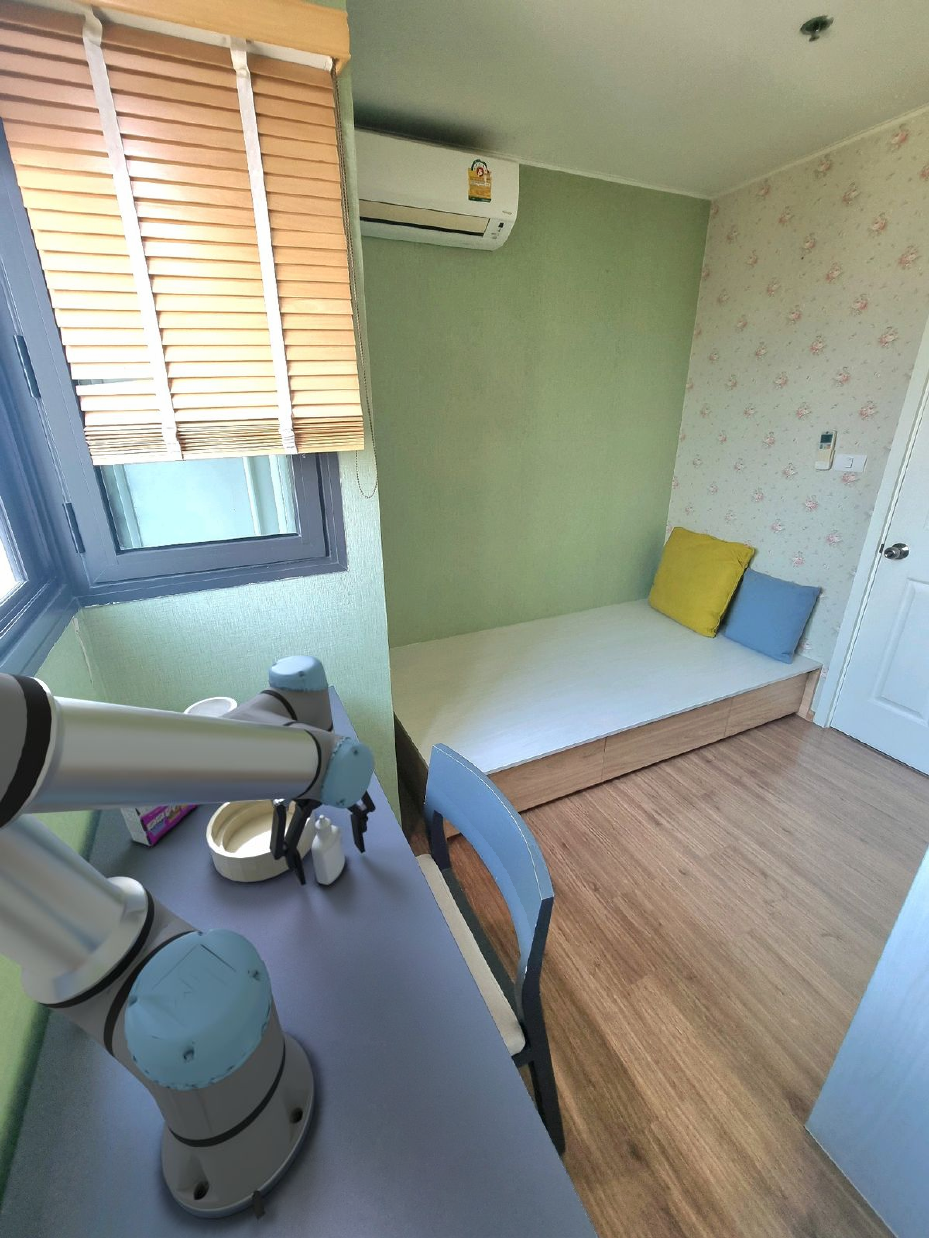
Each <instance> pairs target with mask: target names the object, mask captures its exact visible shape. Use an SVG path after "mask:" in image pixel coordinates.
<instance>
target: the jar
mask: <svg viewBox="0 0 929 1238" xmlns="http://www.w3.org/2000/svg"><path fill="white" fill-rule="evenodd" d="M236 707H238V704H237V701H236V700H235V699H233V698H231V697H226V696H216V697H209V698H206V699H203V700H200V701H197V702H195V703H193V704H192V705H190V706H189V707H187V708H186V709H185V710H184V712H183V713H188V714H196V715H203V716H211V717H219V716H222V715H224V714H226V713H227V712H229V711H231V710H232V709H234V708H236Z"/></svg>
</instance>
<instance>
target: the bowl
mask: <svg viewBox="0 0 929 1238" xmlns="http://www.w3.org/2000/svg"><path fill="white" fill-rule="evenodd" d="M295 804H296V802H294V801H292V802H291V803H290V804H289V811H287V812H286V814H287V821H286V829H285V835H286V832H287V829H288V827H289V824H290V822H291V819H292V816H293V814H294V811H295ZM273 812H274V808H273V805H272V803H271V800H265V801H248V802H230V803H222V805H221V806H220V807H219V808H218V809H217V810H216V811H215V812H214V814H213V815H212V816H211V818H210V820H209V822H208V824H207V826H206V833H205V838H206V842H207V845H208V848H209V852H210V855H211V858H212V862H213V864H214V867H215V870H216V871H217V872H218V873H219V874H220V875H221V876H222V877H224V878H227V879H229V880H231V881H233V882H241V883H249V882H250V883H252V882H260V881H264V880H268V879H271V878H274V877H276V876H278V875H280V874H282V873H284V872H286V871H288V870H289V868H288V866H287V864H286V860H285V857H281V858H280V859H279V860H275V859H274V857H273V855H272V853H271V851H270V848H269V847H270V838H271V829H272V821H273ZM316 822H317V820H316V814H315V809H314V810H313V811H312V813H311V816H310V818H308V819H307V822H306V824H305V827H304V829H303V832H302V835H301V837H300V840H299V843H298V845H297V849H298V851H299V853H300V856H301V860H302V859H303V858H304V857H305V856H306V855H307V853H308V852H309V851H310V850H311V849H312V844H313V841H314V838H315V836H316V835H317V833H316V827H315V824H316Z"/></svg>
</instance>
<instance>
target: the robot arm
mask: <svg viewBox="0 0 929 1238" xmlns="http://www.w3.org/2000/svg"><path fill="white" fill-rule="evenodd" d="M267 674H268V680H267V681H268V684H269V686H268V687H266V688H265V689H263V690H262V691H261V692H260V693H258V694H256V695H255V696H253V697H252V698H249V699H248V700H246V701H244V702H243V703H241V704H239V705H237V707H236V708H234V709H232V710H231V711H229V712H227V713H226V714H224V715H222V716H219V717H211V716H203V715H196V714H188V713H184V712H179V711H172V710H163V709H156V708H148V707H141V706H132V705H124V704H118V703H117V704H116V703H109V702H101V701H94V700H86V699H79V698H71V697H63V696H54V694H53V693H52V692H51V690H50V688H49V687H48V685H47V684H46V683H44V681H42V680H40V679H38V678H36V677H32V676H28V675H27V676H25V675H19V674H14V673H13V674H12V673H6V672H1V671H0V955H2V956H4V957H5V958H7V959H9V960H10V961H11V962H14V963H15V964H17V965H19V966H20V967H21V971H20V983H21V987H22V990H23V991H24V993H25V994H26V996H27V997H29V998H30V999H31V1000H33V1001H34V1002H36V1003H38V1004H39V1005H42V1006H43V1007H45V1008H47V1009H49V1010H51V1011H52V1012H55V1013H56V1014H58V1015H60V1016H62V1017H63V1018H65V1019H67V1020H69V1021H71V1022H72V1023H73V1024H75V1025H76V1026H78V1027H79V1028H80V1029H81V1030H83V1031H84V1032H85V1033H86V1034H87V1035H89V1036H90V1037H91V1038H92V1039H93V1040H94V1041H95V1042H96V1043H98V1045H100V1046H101V1047H102V1048H103V1049H104V1050H105V1051H107V1053H108V1054H109V1055H110V1056H112V1057H113V1058H114V1059H115V1060H116V1061H117V1062H119V1064H120V1065H122V1067H124V1068H125V1069H126V1070H127V1072H129V1073H130V1074H131V1075H133V1076H134V1078H136V1080H137V1081H139V1083H141V1084H142V1085H143V1086H144V1087H145V1089H147V1091H148V1092H149V1093H150V1094H151V1096H152V1098H153V1099H154V1101H155V1103H156V1105H157V1107H158V1109H159V1111H160V1113H161V1116H162V1118H163V1119H164V1125H163V1130H162V1131H163V1132H162V1140H161V1151H160V1152H161V1153H160V1155H161V1157H160V1158H161V1168H162V1173H163V1177H164V1181H165V1183H166V1185H167V1187H168V1189H169V1191H170V1193H171V1195H172V1197H173V1198H174V1200H175V1201H176V1203H177V1204H178V1205H179V1206H180V1207H181V1208H182V1209H183V1210H185V1211H186V1212H187V1213H189V1214H191V1215H193V1216H196V1217H199V1218H205V1219H219V1218H225V1217H228V1216H233V1215H235V1214H238V1213H240V1212H242V1211H244V1210H246V1209H248V1208H249V1207H251V1206H253V1208H254V1212H255V1216H256V1220H260V1219H262V1217H264V1216H265V1214H266V1211H265V1207H264V1202H263V1198H264V1197H265V1196H266V1195H267V1194H268V1193H269V1192H270V1191H271V1190H272V1189H273V1188H274V1187H275V1186H276V1185H277V1184H278V1183H279V1182H280V1181H281V1179H282V1178H283V1177H284V1176H285V1175H286V1173H287V1172H288V1170H289V1169H290V1168H291V1167H292V1164H293V1163H294V1161H295V1160H296V1158H297V1157H298V1154H299V1153H300V1151H301V1149H302V1147H303V1145H304V1143H305V1140H306V1137H307V1135H308V1133H309V1129H310V1126H311V1124H312V1119H313V1114H314V1108H315V1101H316V1100H315V1099H316V1097H315V1096H316V1089H315V1080H314V1074H313V1071H312V1066H311V1064H310V1060H309V1057H308V1056H307V1053H306V1052H305V1050H304V1048H303V1047H302V1045H301V1044H300V1043H299V1042H298V1041H297V1040H296V1039H294V1037H292V1036H291V1035H289V1034H288V1033H286V1032H285V1031H284V1030H283V1029H282V1026H281V1022H280V1019H279V1014H278V1010H277V1007H276V1003H275V1000H274V995H273V992H272V991H273V990H272V982H271V978H270V974H269V971H268V970H267V966H266V964H265V962H264V960H262V958H261V956H260V954H259V952H258V950H257V948H256V947H255V946H254V945H253V943H252V942H251V941H250V940H248V938H246V937H245V936H243V934H241V933H239V932H236V931H235V930H230V929H226V928H220V927H217V928H216V927H213V928H212V927H211V928H209V929H208V930H207V932H203V931H201V930H200V929H198V928H196V927H195V926H194V925H192V924H190V923H189V922H187V921H186V920H185V919H183V918H181V917H179V916H178V915H177V914H176V913H174V912H173V911H172V910H171V909H169V908H168V907H167V906H166V905H164V904H163V903H162V902H161V901H160V900H159V899H158V898H156V896H155V895H153V894H152V893H151V892H150V891H149V890H148V889H147V888H145V887H144V886H143V885H142V884H141V883H140V882H139V881H138V880H135V879H134V878H131V877H127V876H113V877H108V878H107V877H105V875H103V874H102V873H101V872H100V871H98V869H97V868H95V867H94V866H93V865H91V863H89V862H88V861H87V860H86V859H85V858H83V856H81V855H80V854H79V853H78V852H77V851H76V850H74V849H73V848H72V847H71V846H69V844H67V843H66V842H65V841H64V840H63V839H61V838H60V837H59V835H57V834H56V833H55V832H53V830H51V828H49V827H48V826H47V825H45V824H44V823H43V822H42V821H41V820H40V819H39V818H37V816H35V815H34V814H47V813H51V814H52V813H66V812H67V813H68V812H69V813H70V812H85V811H87V812H88V811H104V810H119V809H123V808H141V807H158V806H176V805H194V804H198V805H210V804H211V805H212V804H224V803H230V802H248V801H265V800H271V803H272V805H273V808H274V812H273V821H272V829H271V838H270V847H269V848H270V851H271V853H272V855H273V857H274V859H275V860H279V859H280V858H281V857H285V860H286V864H287V866H288V868H289V869H288V870H289V871H291V872H292V871H294V872H295V876H296V878H297V880H298V882H299V884H300V886H301V887H302V886H305V885H306V884H307V880H306V876H305V871H304V866H303V862H302V859H301V856H300V853H299V851H298V849H297V845H298V843H299V840H300V837H301V835H302V832H303V829H304V827H305V824H306V822H307V819H308V818H310V816H311V813H312V811H313V810H314V811H315V810H316V809H319V808H320V807H321V806H323V805H324V806H329V807H333V808H337V809H347V810H348V811H349V812H350V813H351V814H349V818H350V824H351V831H352V837H353V843H354V846H356V848H357V850H358V852H360V854H363V853H365V852H366V847H365V840H364V839H365V838H364V833H367V831H368V824H367V822H368V821H369V816H368V814H370V813H373V812H375V811H376V805H375V803H374V801H373V799H372V798H371V796H370V793H369V791H368V789H369V786H370V784H371V780H372V778H373V777H372V776H373V774H374V769H375V759H374V758H375V757H374V755H373V752H372V750H371V748H370V747H369V746H368V745H367V744H365V743H363V742H360V741H358V740H355V739H353V738H352V737H351V736H346V735H345V736H344V735H341V734H337V733H335V726H334V722H333V721H334V720H333V714H332V706H331V699H330V692H329V682H328V679H327V675H326V671H325V668H324V665H323V663H322V661H321V660H320V659H319V658H317V657H315V656H312V655H311V656H310V655H307V654H297V655H296V654H295V655H290V656H287V657H283V658H280V659H279V660H277V661H275V662H274V663H273V664H272V666H271V667H270V668H269V670H268V673H267ZM360 800H361V802H362V803H361V804H358V802H359V801H360ZM292 801H294V802H296V804H295V811H294V814H293V816H292V819H291V822H290V824H289V827H288V829H287V832H286V835H285V829H286V821H287V814H286V812H287V811H289V804H290V803H291V802H292Z"/></svg>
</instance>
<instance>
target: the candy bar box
mask: <svg viewBox="0 0 929 1238" xmlns="http://www.w3.org/2000/svg"><path fill="white" fill-rule="evenodd" d="M198 805H199V804H194V805H176V806H158V807H141V808H123V809H120V813H121V814H122V818H123V820H124V822H125V824H126V827H127V829H128V832H129V835H130V837H131V839H132V841H133V842H136V843H140V844H143V845H146V846H149V847H153V846H154V845H155V844H157V842H158V841H160V840H161V839H162V838H163V837H164V836H165V835H166V834H167V833H168V832H170V830H172V829H173V828H174V827H175V826H176V825H177V824H178V823H179V822H180V821H181V820H183V818H184V817H186V816H187V815H188V814H189V813H190V812H191V811H193V809H194V808H196V807H197V806H198Z"/></svg>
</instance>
